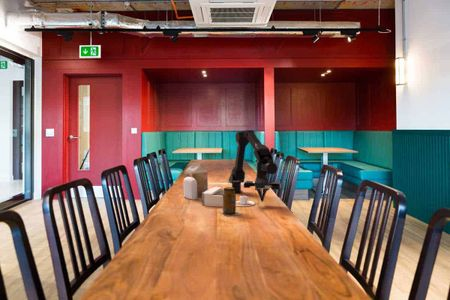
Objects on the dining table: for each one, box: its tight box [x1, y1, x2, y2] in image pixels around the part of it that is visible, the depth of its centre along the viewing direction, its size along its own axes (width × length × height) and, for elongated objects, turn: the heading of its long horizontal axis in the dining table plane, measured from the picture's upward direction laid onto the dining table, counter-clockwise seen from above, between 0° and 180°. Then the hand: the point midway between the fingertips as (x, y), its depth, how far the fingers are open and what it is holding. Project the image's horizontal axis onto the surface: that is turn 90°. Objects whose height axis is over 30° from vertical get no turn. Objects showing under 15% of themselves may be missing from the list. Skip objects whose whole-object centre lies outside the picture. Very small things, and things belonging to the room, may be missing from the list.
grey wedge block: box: [201, 186, 224, 208], centre depth 159 cm, size 17×11×6 cm, turn 163°
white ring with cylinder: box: [236, 195, 256, 207], centre depth 154 cm, size 12×12×4 cm
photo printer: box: [182, 177, 198, 201], centre depth 169 cm, size 10×4×12 cm, turn 39°
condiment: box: [219, 186, 241, 217], centre depth 137 cm, size 7×8×12 cm
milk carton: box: [183, 162, 209, 197], centre depth 179 cm, size 11×11×19 cm
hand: (262, 201), depth 152 cm, fingers closed
